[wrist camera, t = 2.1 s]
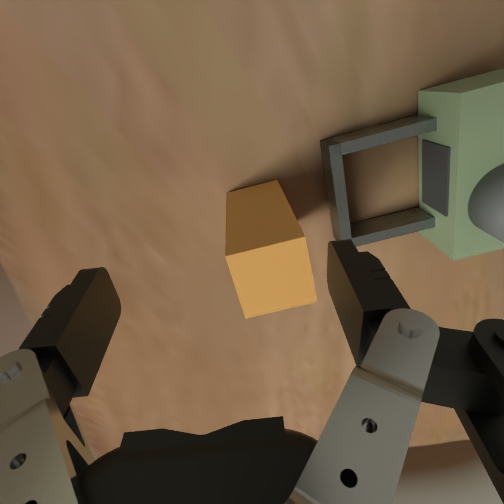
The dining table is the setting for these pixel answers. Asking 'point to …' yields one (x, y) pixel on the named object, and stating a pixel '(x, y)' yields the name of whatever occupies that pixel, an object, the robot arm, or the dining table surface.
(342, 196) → the dark grey tray
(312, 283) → the tall orange pillar
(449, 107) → the mower housing
